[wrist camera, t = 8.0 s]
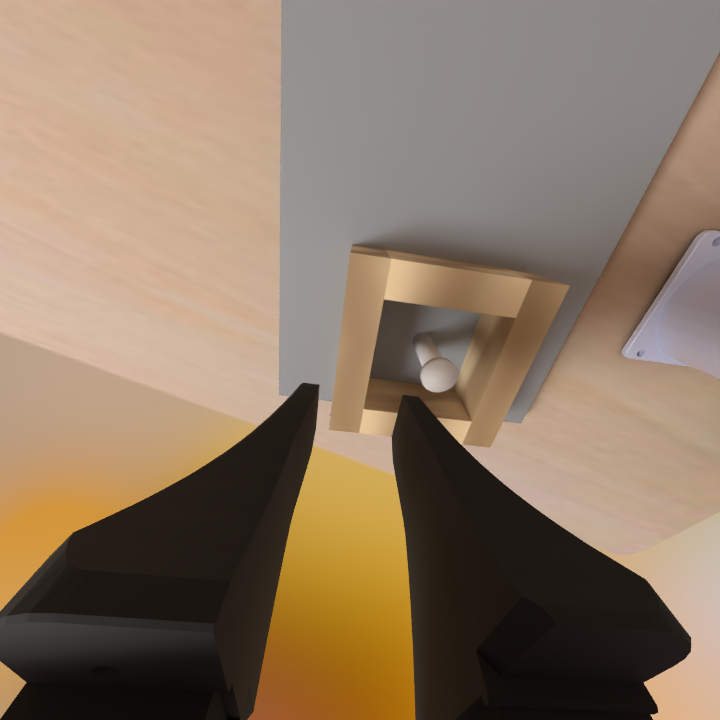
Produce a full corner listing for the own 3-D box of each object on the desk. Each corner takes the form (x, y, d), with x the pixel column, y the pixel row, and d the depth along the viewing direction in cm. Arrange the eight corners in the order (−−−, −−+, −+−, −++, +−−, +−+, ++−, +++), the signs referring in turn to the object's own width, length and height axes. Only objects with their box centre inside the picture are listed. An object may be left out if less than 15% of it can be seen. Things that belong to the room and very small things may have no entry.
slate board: (722, 0, 12) (996, -162, 7) (513, 413, 22) (558, 471, 17) (290, -100, 10) (226, -389, 5) (283, 385, 21) (258, 440, 16)
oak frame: (528, 271, 15) (569, 285, 12) (470, 411, 20) (490, 447, 17) (352, 244, 15) (350, 252, 12) (334, 395, 19) (329, 429, 16)
